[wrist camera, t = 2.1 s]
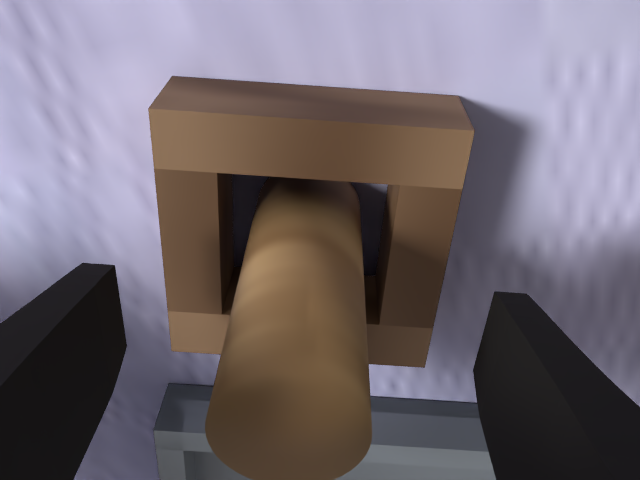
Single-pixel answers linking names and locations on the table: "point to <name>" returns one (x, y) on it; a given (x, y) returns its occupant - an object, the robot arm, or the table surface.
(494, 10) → the table surface
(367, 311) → the socket
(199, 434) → the tray
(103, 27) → the table surface
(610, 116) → the table surface
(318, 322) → the pin
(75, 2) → the table surface
